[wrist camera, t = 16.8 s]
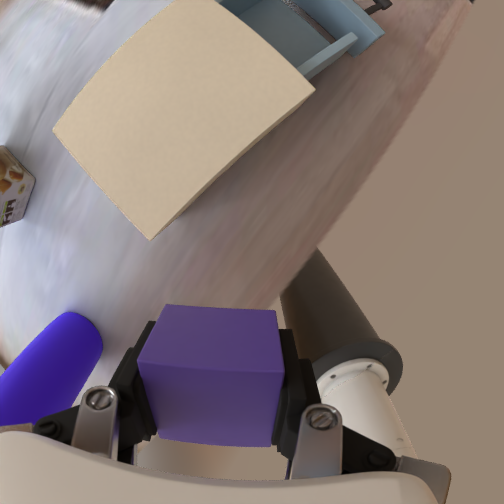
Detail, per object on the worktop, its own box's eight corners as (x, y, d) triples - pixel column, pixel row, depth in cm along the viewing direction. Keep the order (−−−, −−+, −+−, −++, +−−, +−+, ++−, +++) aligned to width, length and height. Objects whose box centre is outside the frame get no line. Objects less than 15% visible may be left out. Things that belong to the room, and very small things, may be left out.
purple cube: (267, 387, 12) (271, 447, 9) (175, 381, 12) (159, 438, 9) (275, 309, 11) (285, 371, 7) (165, 303, 11) (135, 359, 7)
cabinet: (207, 25, 20) (194, -14, 13) (297, 108, 24) (316, 89, 16) (96, 133, 24) (51, 130, 16) (176, 218, 27) (149, 241, 19)
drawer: (317, -36, 17) (328, -65, 11) (393, 32, 19) (420, 13, 14) (167, 59, 21) (147, 37, 15) (250, 139, 24) (250, 132, 18)
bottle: (92, 308, 30) (-44, 502, 2) (113, 360, 33) (26, 547, 4) (48, 309, 30) (-78, 458, 2) (70, 357, 33) (-22, 509, 5)
